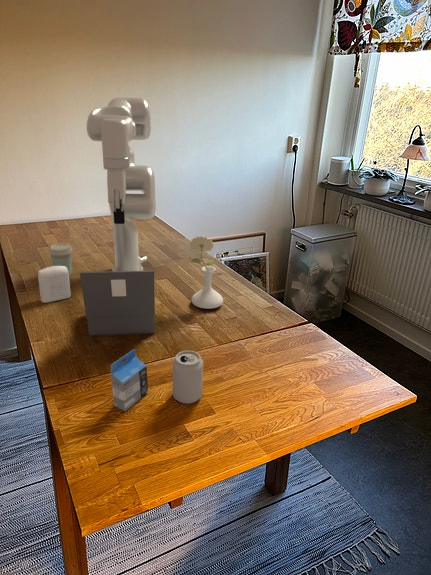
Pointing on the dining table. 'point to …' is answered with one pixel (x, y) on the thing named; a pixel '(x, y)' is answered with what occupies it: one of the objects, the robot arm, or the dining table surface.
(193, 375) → the can
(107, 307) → the mailer lid
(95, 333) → the box
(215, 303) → the flower in vase
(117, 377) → the label tape box
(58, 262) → the coffee cup
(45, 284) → the photo printer
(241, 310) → the dining table surface
